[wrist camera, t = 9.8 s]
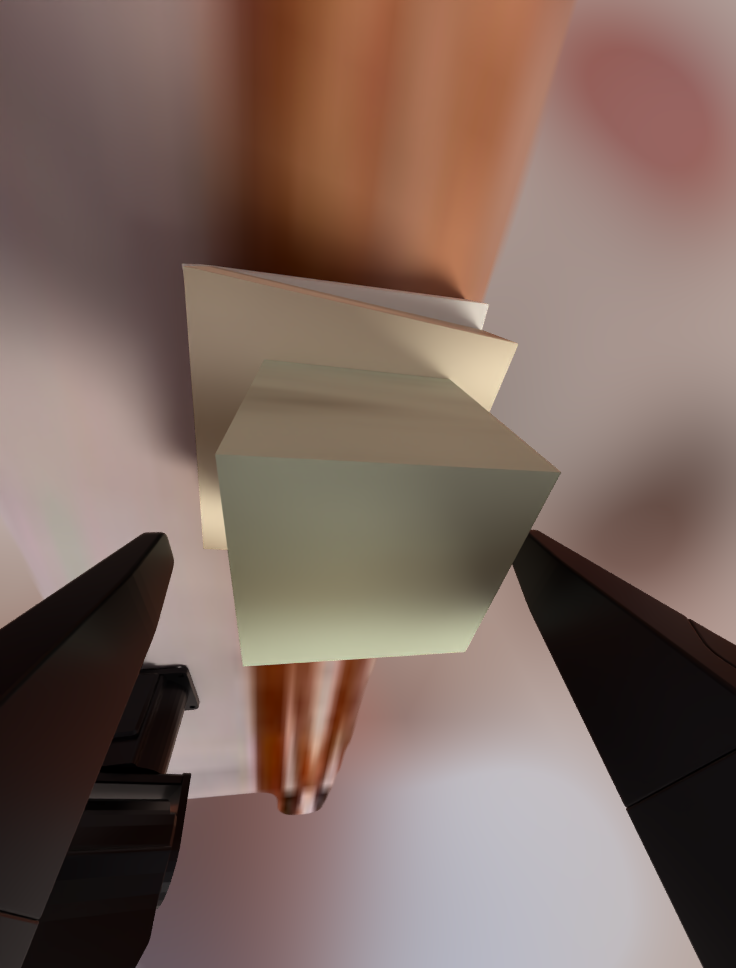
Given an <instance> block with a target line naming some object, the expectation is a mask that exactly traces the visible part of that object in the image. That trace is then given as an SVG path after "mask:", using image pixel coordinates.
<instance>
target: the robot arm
mask: <svg viewBox="0 0 736 968" xmlns="http://www.w3.org/2000/svg"><path fill="white" fill-rule="evenodd" d="M173 565H174V558H173V554H172V551H171V548H170V544H169V541H168V537H167V535H166V534H165V533H162V532H147V533H143V534H141V535H140V536H138V537H137V538H135V539H134V540H132V541H131V542H129V543H128V544H126V545H125V546H123V547H122V548H120V549H119V550H117V551H116V552H114V553H113V554H111V555H110V556H108V557H107V558H105V559H104V560H102V561H101V562H99V563H98V564H96V565H95V566H94V567H92V568H91V569H89V570H88V571H86V572H85V573H83V574H82V575H80V576H79V577H77V578H76V579H74V580H73V581H71V582H70V583H68V584H67V585H65V586H64V587H62V588H61V589H59V590H58V591H56V592H55V593H53V594H52V595H50V596H49V597H47V598H46V599H44V600H43V601H41V602H40V603H39V604H37V605H35V606H34V607H32V608H31V609H29V610H28V611H26V612H25V613H23V614H22V615H21V616H19V617H18V618H16V619H15V620H13V621H12V622H10V623H9V624H7V625H6V626H4V627H3V628H1V629H0V968H135V967H136V965H137V964H138V962H139V960H140V958H141V956H142V954H143V952H144V950H145V949H146V947H147V945H148V943H149V940H150V936H151V931H152V926H153V921H154V916H155V911H156V909H158V907H159V906H160V905H161V903H162V902H163V900H164V897H165V895H166V893H167V890H168V888H169V885H170V882H171V879H172V876H173V872H174V869H175V866H176V862H177V858H178V853H179V849H180V843H181V837H182V830H183V824H184V817H185V811H186V804H187V798H188V792H189V785H190V778H191V773H183V774H182V775H181V774H166V772H167V769H168V765H169V762H170V759H171V755H172V752H173V748H174V745H175V741H176V738H177V734H178V731H179V727H180V724H181V720H182V717H183V713H184V711H185V710H194V709H197V708H198V707H199V703H200V701H199V698H198V695H197V693H196V690H195V687H194V684H193V681H192V678H191V675H190V673H189V670H188V669H187V668H169V669H156V670H143V671H140V669H141V667H142V664H143V662H144V659H145V657H146V654H147V652H148V649H149V647H150V644H151V642H152V639H153V637H154V634H155V631H156V628H157V625H158V621H159V618H160V614H161V610H162V607H163V603H164V599H165V596H166V592H167V589H168V585H169V581H170V578H171V574H172V570H173ZM512 565H513V567H514V570H515V573H516V576H517V578H518V581H519V584H520V586H521V589H522V592H523V594H524V597H525V600H526V602H527V604H528V607H529V609H530V612H531V614H532V616H533V618H534V621H535V623H536V624H537V627H538V629H539V631H540V633H541V635H542V637H543V639H544V641H545V643H546V645H547V647H548V649H549V651H550V653H551V655H552V657H553V659H554V662H555V664H556V666H557V668H558V670H559V672H560V674H561V676H562V678H563V680H564V682H565V684H566V686H567V688H568V690H569V692H570V695H571V697H572V698H573V701H574V703H575V704H576V707H577V709H578V711H579V713H580V715H581V717H582V719H583V721H584V723H585V725H586V727H587V729H588V732H589V734H590V736H591V737H592V740H593V742H594V744H595V746H596V748H597V750H598V752H599V754H600V756H601V758H602V760H603V762H604V764H605V766H606V768H607V771H608V773H609V775H610V776H611V779H612V781H613V783H614V785H615V786H616V789H617V791H618V793H619V795H620V797H621V799H622V801H623V803H624V805H625V807H627V808H626V810H627V812H628V814H629V816H630V818H631V820H632V822H633V824H634V826H635V829H636V831H637V833H638V835H639V837H640V839H641V841H642V843H643V845H644V847H645V849H646V851H647V853H648V855H649V857H650V860H651V862H652V864H653V866H654V868H655V870H656V872H657V874H658V876H659V878H660V880H661V882H662V884H663V886H664V888H665V890H666V892H667V894H668V896H669V898H670V900H671V903H672V905H673V907H674V909H675V911H676V913H677V915H678V917H679V919H680V921H681V923H682V925H683V927H684V929H685V931H686V934H687V936H688V937H689V940H690V942H691V944H692V946H693V948H694V950H695V952H696V954H697V956H698V958H699V960H700V962H701V964H702V966H703V968H736V645H734V644H733V643H731V642H729V641H727V640H726V639H724V638H722V637H720V636H718V635H717V634H715V633H713V632H712V631H710V630H708V629H706V628H705V627H703V626H701V625H700V624H698V623H696V622H694V621H693V620H691V619H687V617H685V616H684V615H682V614H680V613H679V612H677V611H675V610H674V609H672V608H670V607H669V606H667V605H665V604H663V603H661V602H660V601H658V600H656V599H655V598H653V597H651V596H650V595H648V594H646V593H644V592H643V591H641V590H639V589H638V588H636V587H634V586H632V585H631V584H629V583H627V582H626V581H624V580H622V579H620V578H619V577H617V576H615V575H614V574H612V573H610V572H608V571H607V570H605V569H603V568H601V567H600V566H598V565H596V564H594V563H593V562H591V561H590V560H588V559H586V558H584V557H582V556H581V555H579V554H578V553H576V552H574V551H572V550H571V549H569V548H567V547H565V546H564V545H562V544H560V543H558V542H557V541H555V540H553V539H552V538H550V537H548V536H546V535H545V534H543V533H541V532H540V531H538V530H530V532H529V533H528V535H527V537H526V539H525V541H524V543H523V545H522V547H521V548H520V550H519V552H518V554H517V556H516V558H515V560H514V562H513V563H512Z"/></svg>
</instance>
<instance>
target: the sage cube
mask: <svg viewBox="0 0 736 968" xmlns="http://www.w3.org/2000/svg"><path fill="white" fill-rule="evenodd" d="M215 457H216V465H217V473H218V480H219V488H220V496H221V503H222V511H223V518H224V526H225V534H226V541H227V549H228V557H229V564H230V572H231V579H232V587H233V595H234V602H235V610H236V618H237V625H238V633H239V640H240V648H241V656H242V663H243V666H256V665H271V664H287V663H302V662H318V661H333V660H348V659H364V658H379V657H393V656H409V655H426V654H439V653H456V652H465V651H466V649H467V648H468V645H469V644H470V642H471V640H472V638H473V636H474V634H475V633H476V631H477V629H478V627H479V625H480V623H481V621H482V620H483V618H484V616H485V614H486V612H487V610H488V608H489V606H490V605H491V603H492V601H493V599H494V597H495V595H496V593H497V591H498V589H499V587H500V586H501V584H502V582H503V580H504V578H505V576H506V575H507V573H508V571H509V569H510V567H511V565H512V563H513V562H514V560H515V558H516V556H517V554H518V552H519V550H520V548H521V547H522V545H523V543H524V541H525V539H526V537H527V535H528V533H529V532H530V530H531V528H532V526H533V524H534V522H535V520H536V518H537V517H538V515H539V513H540V511H541V509H542V507H543V505H544V503H545V501H546V500H547V498H548V496H549V494H550V492H551V490H552V489H553V487H554V485H555V483H556V481H557V479H558V477H559V475H560V474H561V472H560V471H559V470H558V469H557V468H556V467H554V466H553V465H552V464H551V463H550V462H548V461H547V460H546V459H545V458H544V457H542V456H541V455H540V454H539V453H537V452H536V451H535V450H534V449H533V448H532V447H530V446H529V445H528V444H527V443H526V442H524V441H523V440H522V439H521V438H519V437H518V436H517V435H516V434H515V433H514V432H512V431H511V430H510V429H509V428H508V427H506V426H505V425H504V424H503V423H501V422H500V421H499V420H498V419H497V418H496V417H494V416H493V415H492V414H491V413H490V412H488V411H487V410H486V409H485V408H484V407H482V406H481V405H480V404H479V403H478V402H476V401H475V400H474V399H473V398H472V397H470V396H469V395H468V394H467V393H466V392H464V391H463V390H462V389H461V388H460V387H458V386H457V385H456V384H455V383H454V382H452V381H451V380H450V379H443V378H433V377H424V376H414V375H405V374H396V373H386V372H377V371H368V370H358V369H349V368H340V367H330V366H321V365H311V364H302V363H293V362H283V361H274V360H265V359H264V361H263V363H262V365H261V367H260V369H259V371H258V373H257V375H256V377H255V379H254V381H253V382H252V384H251V386H250V388H249V390H248V392H247V394H246V396H245V398H244V400H243V402H242V404H241V405H240V407H239V409H238V411H237V413H236V415H235V417H234V419H233V421H232V423H231V425H230V427H229V428H228V430H227V432H226V434H225V436H224V438H223V440H222V442H221V444H220V446H219V448H218V450H217V451H216V453H215Z"/></svg>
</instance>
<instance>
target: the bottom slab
mask: <svg viewBox="0 0 736 968" xmlns="http://www.w3.org/2000/svg"><path fill="white" fill-rule="evenodd" d="M183 266H212V265H205V264H182V269H183ZM214 267H218V268H222V269H226V270H230V271H235V272H239V273H243V274H247V275H252V276H256V277H260V278H264V279H268V280H273V281H277V282H281V283H285V284H290V285H294V286H298V287H302V288H307V289H311V290H315V291H319V292H324V293H328V294H332V295H336V296H341V297H345V298H349V299H353V300H357V301H362V302H366V303H370V304H374V305H379V306H383V307H387V308H391V309H396V310H400V311H404V312H408V313H413V314H417V315H421V316H425V317H429V318H434V319H438V320H442V321H446V322H451V323H455V324H459V325H463V326H468V327H472V328H476V329H480V330H482V328H483V323H484V320H485V317H486V313H487V310H488V306H489V304H485V303H481V302H476V301H471V300H467V299H460V298H453V297H445V296H438V295H430V294H423V293H415V292H408V291H400V290H393V289H385V288H377V287H370V286H362V285H355V284H347V283H340V282H332V281H325V280H317V279H310V278H302V277H295V276H287V275H280V274H272V273H265V272H257V271H250V270H242V269H235V268H227V267H220V266H214ZM183 275H184V272H183Z"/></svg>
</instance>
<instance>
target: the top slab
mask: <svg viewBox="0 0 736 968" xmlns="http://www.w3.org/2000/svg"><path fill="white" fill-rule="evenodd" d="M183 272H184V286H185V300H186V314H187V328H188V341H189V355H190V369H191V383H192V397H193V411H194V424H195V438H196V452H197V466H198V480H199V493H200V507H201V521H202V535H203V549H219V550H228V549H227V541H226V534H225V526H224V518H223V511H222V503H221V496H220V488H219V480H218V473H217V465H216V457H215V453H216V451H217V450H218V448H219V446H220V444H221V442H222V440H223V438H224V436H225V434H226V432H227V430H228V428H229V427H230V425H231V423H232V421H233V419H234V417H235V415H236V413H237V411H238V409H239V407H240V405H241V404H242V402H243V400H244V398H245V396H246V394H247V392H248V390H249V388H250V386H251V384H252V382H253V381H254V379H255V377H256V375H257V373H258V371H259V369H260V367H261V365H262V363H263V361H264V359H265V360H274V361H283V362H293V363H302V364H311V365H321V366H330V367H340V368H349V369H358V370H368V371H377V372H386V373H396V374H405V375H414V376H424V377H433V378H443V379H450V380H451V381H452V382H454V383H455V384H456V385H457V386H458V387H460V388H461V389H462V390H463V391H464V392H466V393H467V394H468V395H469V396H470V397H472V398H473V399H474V400H475V401H476V402H478V403H479V404H480V405H481V406H482V407H484V408H485V409H486V410H487V411H488V412H490V409H491V407H492V405H493V402H494V400H495V398H496V395H497V393H498V391H499V389H500V386H501V384H502V381H503V379H504V377H505V374H506V372H507V370H508V367H509V365H510V363H511V360H512V358H513V356H514V353H515V351H516V349H517V346H518V343H515V342H512V341H510V340H507V339H504V338H502V337H499V336H496V335H494V334H491V333H488V332H486V331H483V330H480V329H476V328H472V327H468V326H463V325H459V324H455V323H451V322H446V321H442V320H438V319H434V318H429V317H425V316H421V315H417V314H413V313H408V312H404V311H400V310H396V309H391V308H387V307H383V306H379V305H374V304H370V303H366V302H362V301H357V300H353V299H349V298H345V297H341V296H336V295H332V294H328V293H324V292H319V291H315V290H311V289H307V288H302V287H298V286H294V285H290V284H285V283H281V282H277V281H273V280H268V279H264V278H260V277H256V276H252V275H247V274H243V273H239V272H235V271H230V270H226V269H222V268H218V267H214V266H183Z"/></svg>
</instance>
